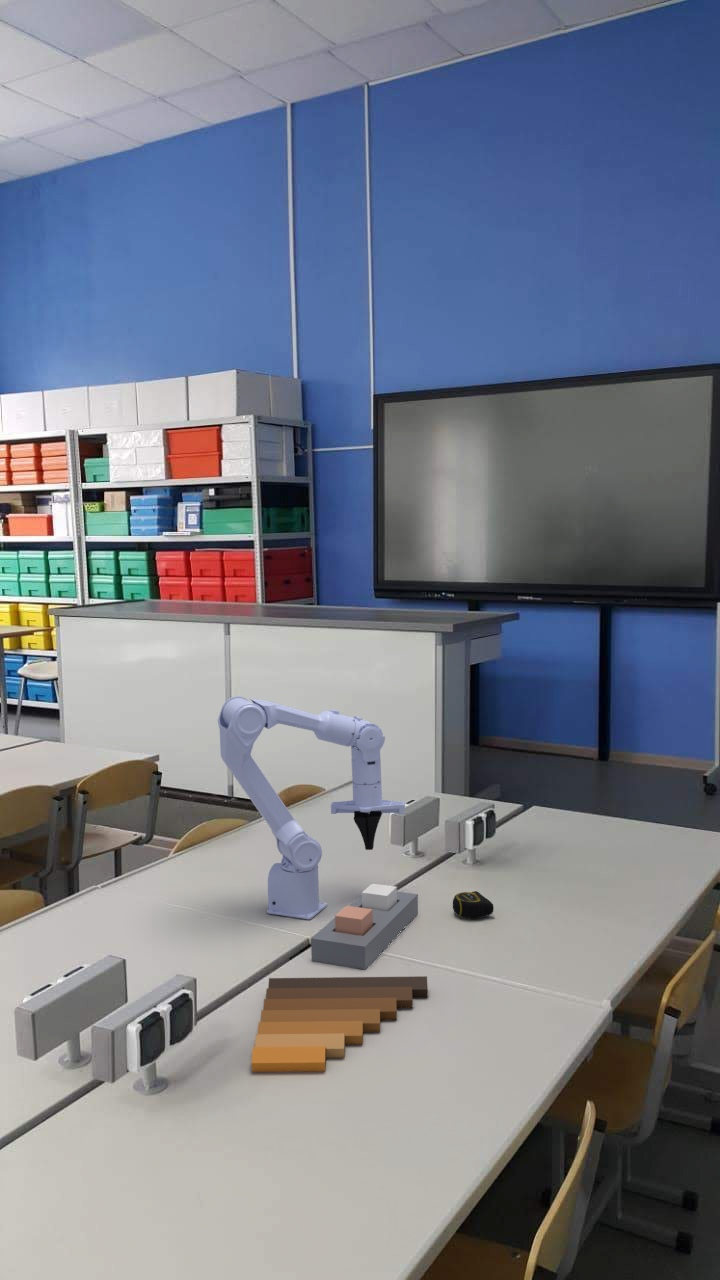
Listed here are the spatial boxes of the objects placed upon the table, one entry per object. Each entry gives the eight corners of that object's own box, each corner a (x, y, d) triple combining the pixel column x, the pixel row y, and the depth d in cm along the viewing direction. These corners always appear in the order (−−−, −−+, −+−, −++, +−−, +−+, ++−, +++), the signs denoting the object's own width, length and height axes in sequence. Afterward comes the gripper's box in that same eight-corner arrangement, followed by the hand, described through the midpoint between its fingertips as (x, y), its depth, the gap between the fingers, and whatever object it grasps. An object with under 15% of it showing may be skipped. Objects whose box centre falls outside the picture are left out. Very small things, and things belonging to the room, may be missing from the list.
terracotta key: (335, 940, 175) (335, 915, 174) (347, 930, 180) (346, 905, 179) (362, 944, 173) (361, 919, 173) (373, 933, 178) (372, 909, 177)
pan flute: (426, 991, 161) (270, 993, 161) (426, 971, 161) (270, 973, 161) (436, 1075, 136) (251, 1077, 137) (435, 1052, 136) (251, 1054, 136)
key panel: (311, 960, 172) (311, 938, 172) (369, 907, 196) (369, 887, 195) (365, 969, 168) (365, 946, 168) (418, 914, 192) (417, 894, 191)
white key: (362, 916, 186) (361, 892, 185) (372, 906, 190) (372, 883, 190) (387, 919, 184) (387, 895, 183) (397, 910, 189) (396, 886, 188)
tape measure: (495, 919, 189) (495, 900, 189) (461, 924, 187) (461, 905, 187) (479, 907, 196) (479, 888, 195) (447, 911, 194) (447, 892, 193)
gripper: (327, 786, 195) (330, 854, 196) (401, 786, 193) (404, 855, 194) (333, 777, 202) (336, 843, 203) (405, 777, 200) (407, 843, 201)
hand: (369, 848), depth 199 cm, fingers closed
